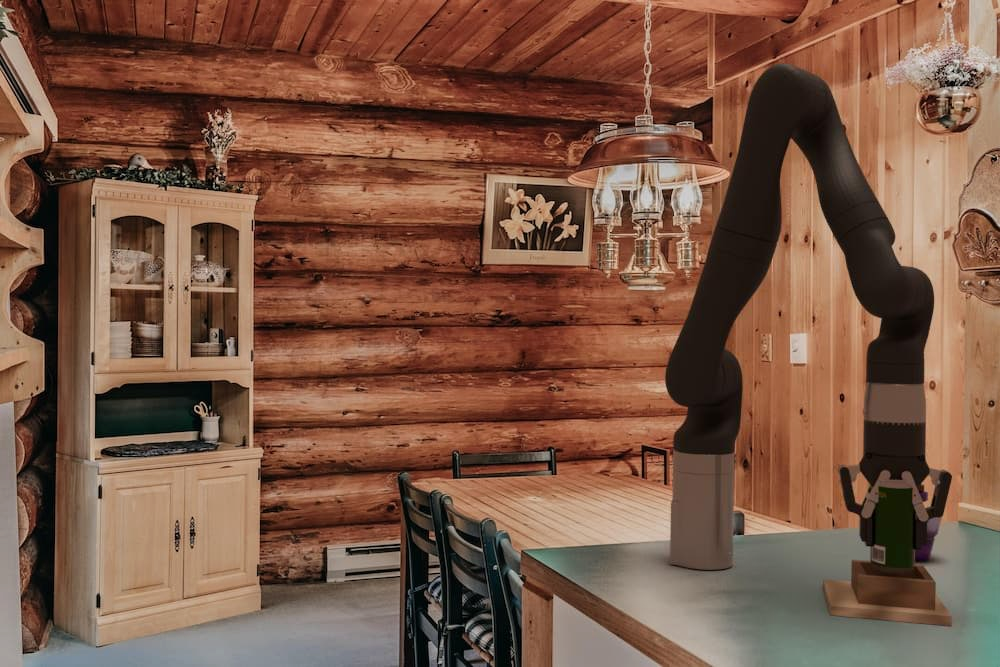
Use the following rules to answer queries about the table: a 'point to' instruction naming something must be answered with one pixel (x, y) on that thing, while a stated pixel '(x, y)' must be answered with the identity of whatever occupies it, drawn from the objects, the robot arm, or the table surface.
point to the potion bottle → (932, 531)
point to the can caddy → (886, 595)
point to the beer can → (893, 528)
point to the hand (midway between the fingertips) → (892, 546)
